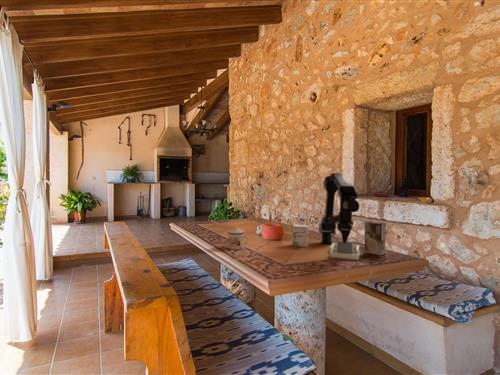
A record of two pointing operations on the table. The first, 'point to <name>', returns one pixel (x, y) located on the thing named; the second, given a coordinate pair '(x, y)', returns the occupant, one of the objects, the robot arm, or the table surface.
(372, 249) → the coffee box
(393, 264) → the table surface
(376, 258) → the table surface
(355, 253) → the tray
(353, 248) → the bay
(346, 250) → the grey block
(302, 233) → the ink box
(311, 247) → the table surface
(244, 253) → the table surface
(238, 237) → the teacup with lid
